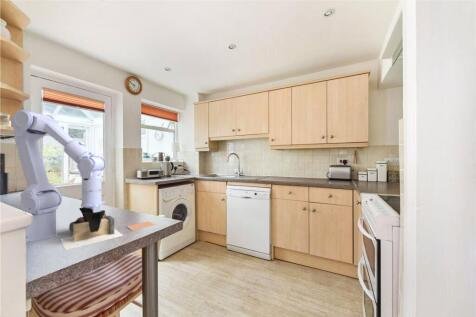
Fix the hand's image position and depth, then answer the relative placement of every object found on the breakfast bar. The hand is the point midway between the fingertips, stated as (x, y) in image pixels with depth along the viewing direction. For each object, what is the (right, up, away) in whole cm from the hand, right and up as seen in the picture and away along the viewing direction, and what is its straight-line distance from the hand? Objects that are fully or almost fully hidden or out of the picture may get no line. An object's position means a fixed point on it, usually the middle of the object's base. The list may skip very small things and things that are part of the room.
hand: (91, 228), depth 72 cm
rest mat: (+1, -3, -1) cm, 3 cm away
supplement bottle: (-4, 0, +12) cm, 13 cm away
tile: (+9, -3, +8) cm, 12 cm away
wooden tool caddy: (0, -3, 0) cm, 3 cm away
